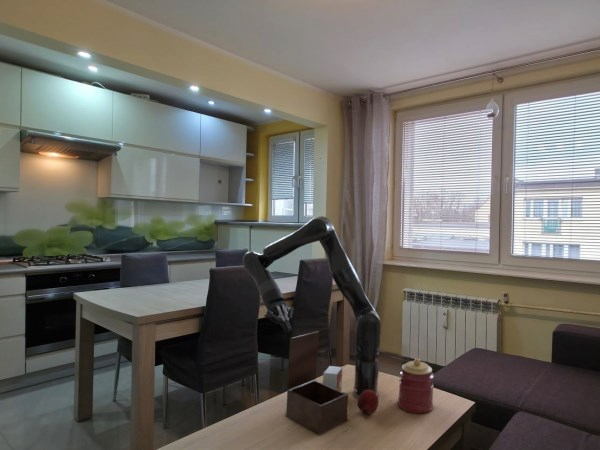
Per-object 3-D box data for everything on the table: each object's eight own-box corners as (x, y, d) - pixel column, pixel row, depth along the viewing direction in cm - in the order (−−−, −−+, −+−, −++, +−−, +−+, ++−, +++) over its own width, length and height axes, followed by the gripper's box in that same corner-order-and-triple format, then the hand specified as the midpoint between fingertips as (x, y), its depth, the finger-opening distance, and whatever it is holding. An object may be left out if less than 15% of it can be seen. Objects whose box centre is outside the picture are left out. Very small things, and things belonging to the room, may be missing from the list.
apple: (382, 414, 135) (383, 391, 135) (365, 420, 130) (366, 397, 130) (369, 405, 141) (370, 384, 141) (352, 411, 136) (353, 389, 136)
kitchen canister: (404, 395, 151) (406, 350, 151) (436, 402, 146) (438, 357, 146) (392, 408, 140) (395, 360, 140) (427, 417, 134) (429, 367, 134)
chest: (347, 420, 130) (348, 394, 130) (319, 434, 120) (320, 406, 120) (313, 403, 140) (314, 379, 140) (286, 416, 131) (287, 390, 131)
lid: (319, 331, 140) (317, 331, 140) (291, 338, 130) (290, 337, 131) (315, 379, 140) (314, 378, 141) (288, 389, 130) (286, 388, 131)
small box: (335, 402, 142) (337, 374, 142) (321, 400, 143) (323, 372, 143) (341, 393, 150) (342, 367, 150) (328, 391, 151) (329, 365, 151)
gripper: (260, 289, 142) (279, 328, 134) (288, 286, 152) (307, 322, 145) (251, 301, 146) (269, 340, 138) (279, 297, 156) (297, 333, 148)
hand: (288, 331), depth 141 cm, fingers closed
